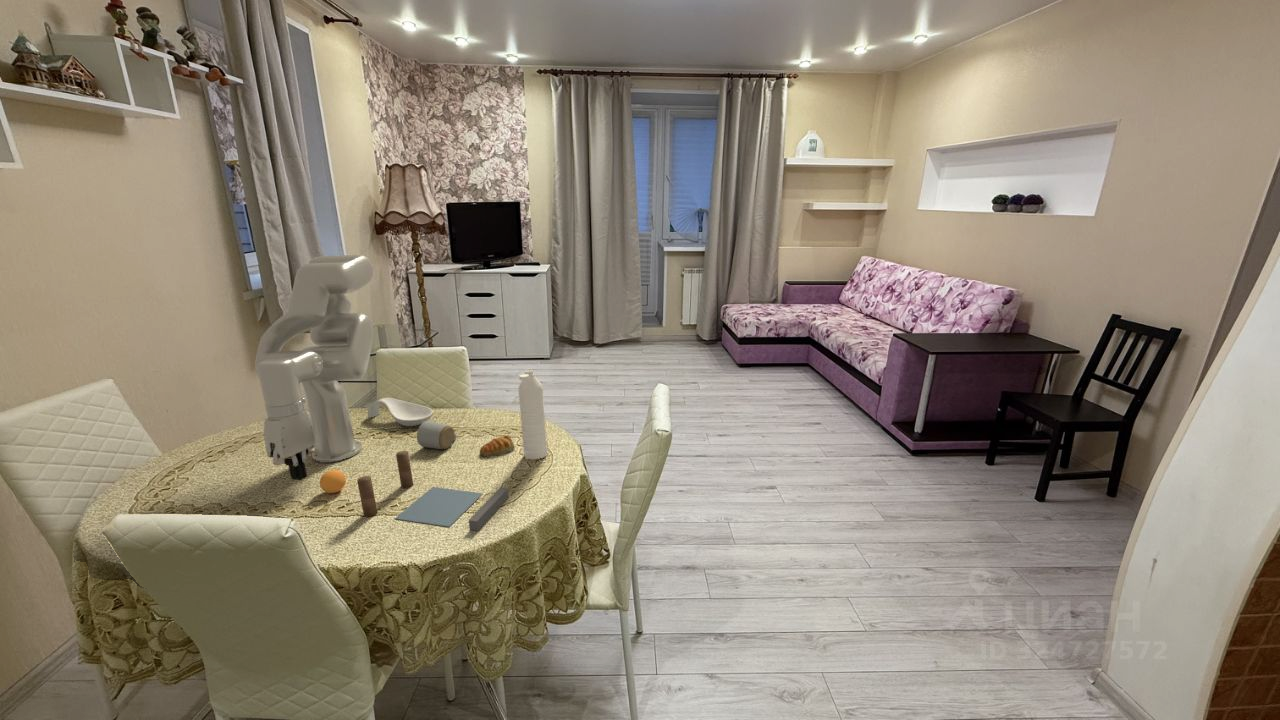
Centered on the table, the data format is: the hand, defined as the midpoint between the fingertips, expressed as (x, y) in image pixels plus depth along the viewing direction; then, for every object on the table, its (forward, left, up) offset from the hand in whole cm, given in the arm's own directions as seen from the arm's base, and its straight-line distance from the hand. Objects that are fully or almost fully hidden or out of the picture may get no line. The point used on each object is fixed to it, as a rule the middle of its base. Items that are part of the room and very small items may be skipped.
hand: (299, 478), depth 131 cm
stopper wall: (+52, +1, -3) cm, 52 cm away
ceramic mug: (+19, +30, -4) cm, 36 cm away
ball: (+9, +1, 0) cm, 9 cm away
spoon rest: (-5, +43, -4) cm, 44 cm away
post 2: (+25, +7, -3) cm, 26 cm away
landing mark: (+39, +1, -3) cm, 39 cm away
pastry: (+38, +31, -4) cm, 49 cm away
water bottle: (+50, +29, -3) cm, 58 cm away
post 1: (+25, -5, -3) cm, 26 cm away
